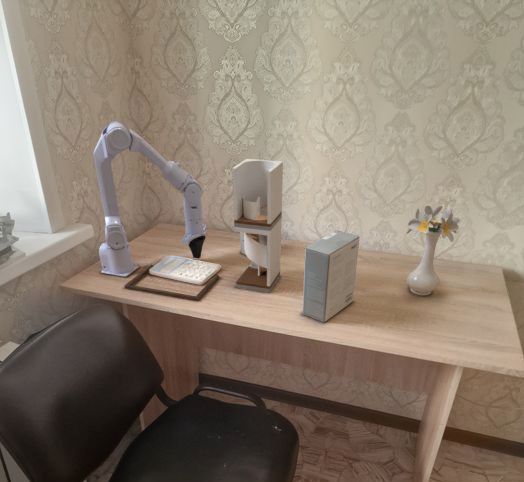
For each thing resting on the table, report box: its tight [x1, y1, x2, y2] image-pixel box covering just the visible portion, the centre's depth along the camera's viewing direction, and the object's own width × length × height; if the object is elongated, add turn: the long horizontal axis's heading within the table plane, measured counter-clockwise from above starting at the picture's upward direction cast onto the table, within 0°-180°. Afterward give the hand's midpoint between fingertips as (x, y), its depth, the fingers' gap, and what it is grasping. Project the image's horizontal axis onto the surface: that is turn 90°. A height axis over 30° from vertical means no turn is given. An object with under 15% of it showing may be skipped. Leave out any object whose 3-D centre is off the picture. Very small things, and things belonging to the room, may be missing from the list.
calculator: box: [148, 255, 222, 286], centre depth 150 cm, size 13×20×2 cm, turn 66°
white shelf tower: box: [231, 158, 284, 293], centre depth 135 cm, size 11×11×35 cm
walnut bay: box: [123, 264, 221, 302], centre depth 144 cm, size 25×16×1 cm, turn 71°
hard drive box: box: [302, 229, 360, 323], centre depth 126 cm, size 16×8×20 cm, turn 141°
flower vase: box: [406, 205, 461, 297], centre depth 133 cm, size 13×18×25 cm
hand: (197, 257), depth 157 cm, fingers closed
